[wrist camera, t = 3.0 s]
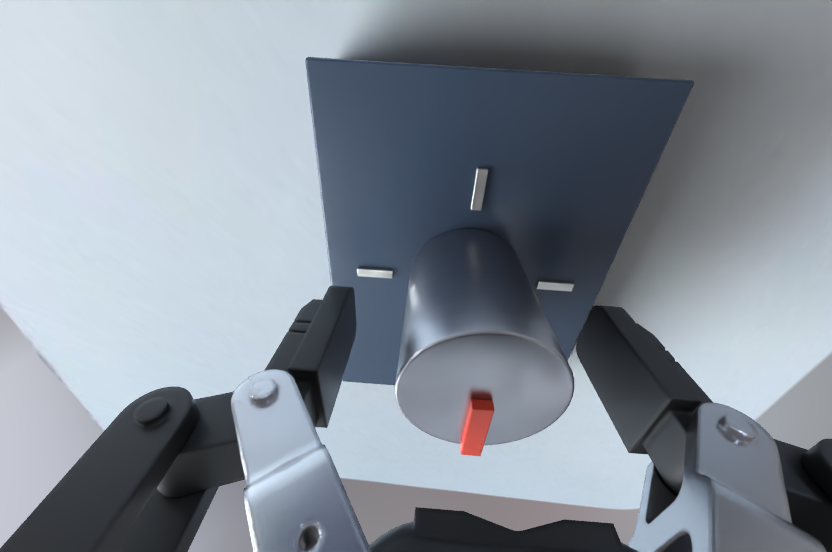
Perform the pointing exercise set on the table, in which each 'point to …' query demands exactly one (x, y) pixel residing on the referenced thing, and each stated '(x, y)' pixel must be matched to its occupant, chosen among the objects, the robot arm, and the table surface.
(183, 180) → the table surface
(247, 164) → the table surface
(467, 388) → the silver rotary knob
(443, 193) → the dial panel
